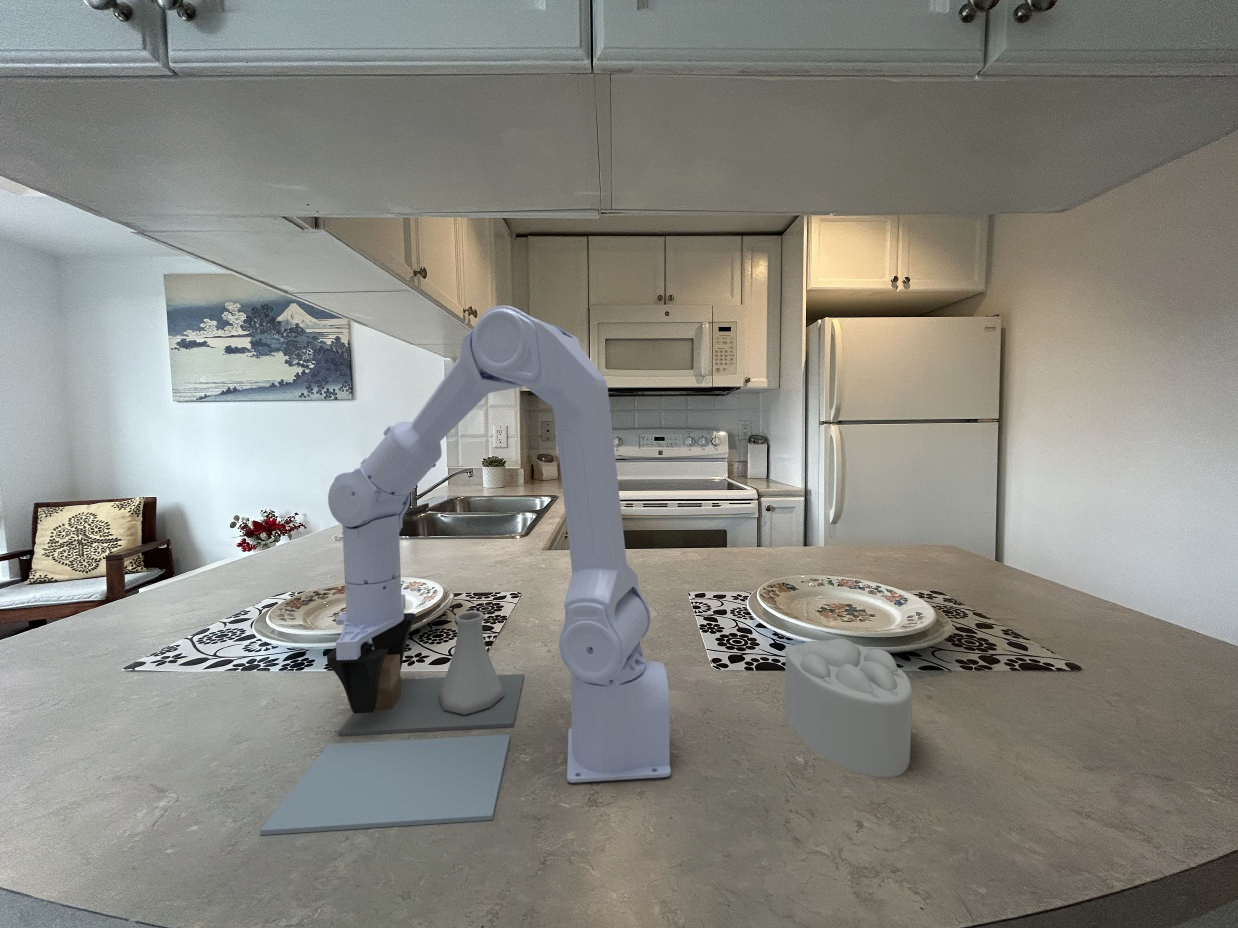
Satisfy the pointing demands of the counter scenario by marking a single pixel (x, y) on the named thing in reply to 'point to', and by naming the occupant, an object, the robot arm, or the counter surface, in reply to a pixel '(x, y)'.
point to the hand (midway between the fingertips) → (377, 692)
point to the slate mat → (395, 785)
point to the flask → (470, 670)
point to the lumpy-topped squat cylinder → (850, 705)
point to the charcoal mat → (427, 706)
